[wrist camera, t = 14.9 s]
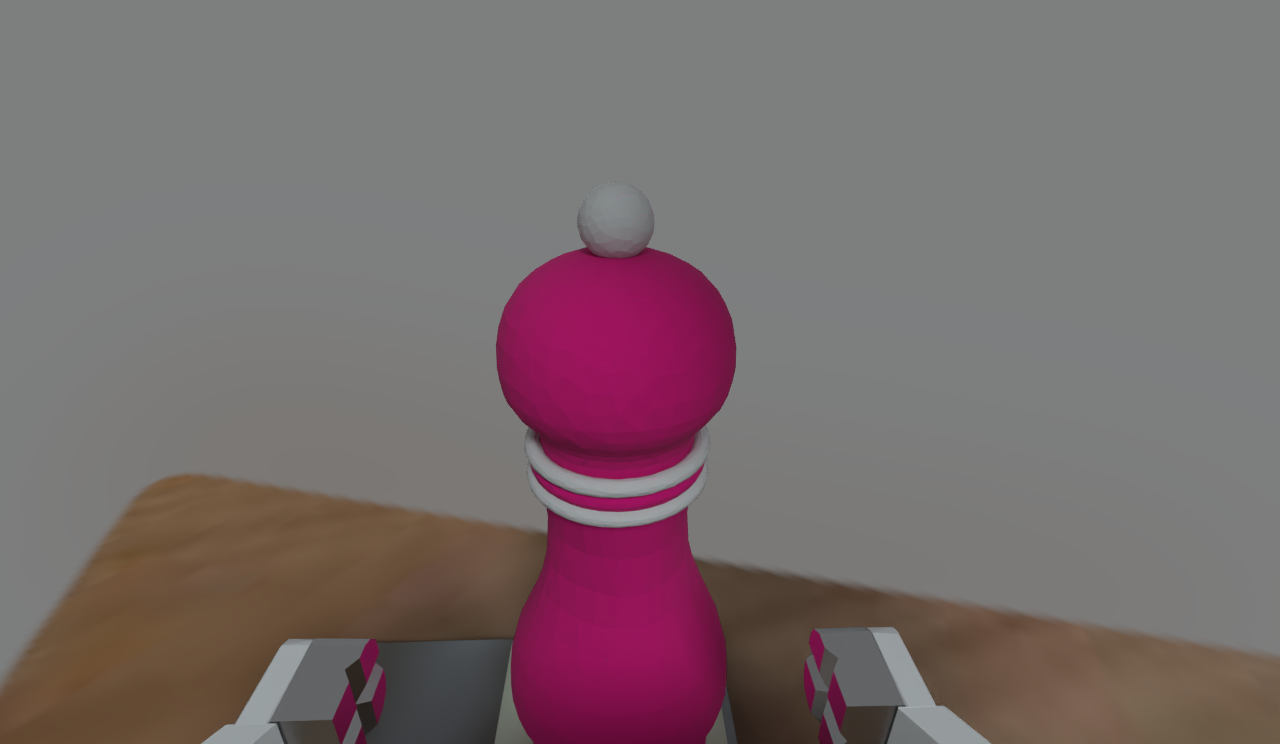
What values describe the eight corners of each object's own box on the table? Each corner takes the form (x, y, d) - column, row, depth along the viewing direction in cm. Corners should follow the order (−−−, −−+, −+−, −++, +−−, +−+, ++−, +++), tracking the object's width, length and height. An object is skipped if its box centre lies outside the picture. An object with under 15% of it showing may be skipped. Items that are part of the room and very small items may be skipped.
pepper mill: (587, 632, 27) (567, 154, 18) (744, 701, 24) (813, 173, 15) (478, 786, 21) (370, 193, 12) (669, 902, 18) (710, 236, 9)
